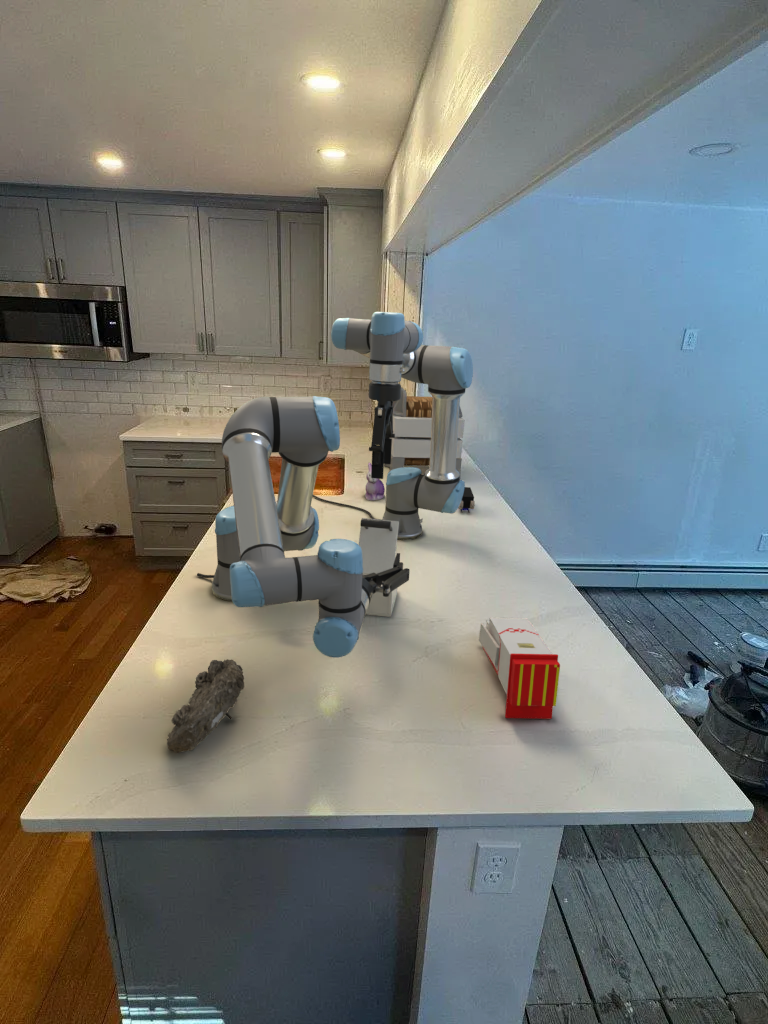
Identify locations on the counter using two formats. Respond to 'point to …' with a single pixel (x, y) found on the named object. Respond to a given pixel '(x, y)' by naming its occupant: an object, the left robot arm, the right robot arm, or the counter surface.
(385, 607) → the chest
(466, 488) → the figurine character
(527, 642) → the toy
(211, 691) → the fossil
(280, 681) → the counter surface
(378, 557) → the lid
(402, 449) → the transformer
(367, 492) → the figurine
